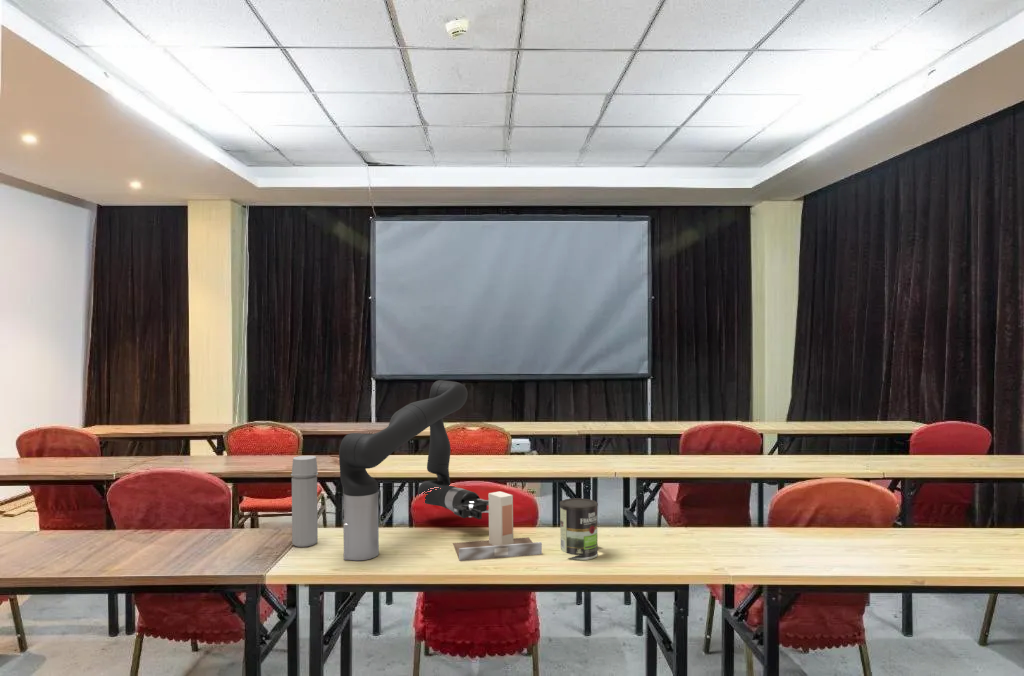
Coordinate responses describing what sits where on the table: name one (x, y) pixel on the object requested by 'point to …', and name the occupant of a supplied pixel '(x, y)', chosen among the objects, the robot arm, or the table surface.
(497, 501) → the tea box
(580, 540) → the coffee can
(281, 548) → the table surface
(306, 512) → the water bottle
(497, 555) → the grey tray
